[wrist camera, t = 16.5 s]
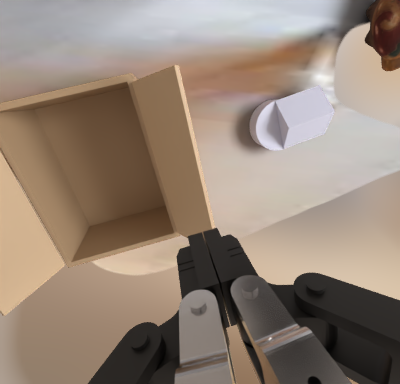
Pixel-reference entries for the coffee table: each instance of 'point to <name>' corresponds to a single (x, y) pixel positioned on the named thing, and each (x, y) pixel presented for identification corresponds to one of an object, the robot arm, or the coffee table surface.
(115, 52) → the coffee table surface
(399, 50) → the decorative turtle
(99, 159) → the carton
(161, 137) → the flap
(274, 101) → the wedge on round base
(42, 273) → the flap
